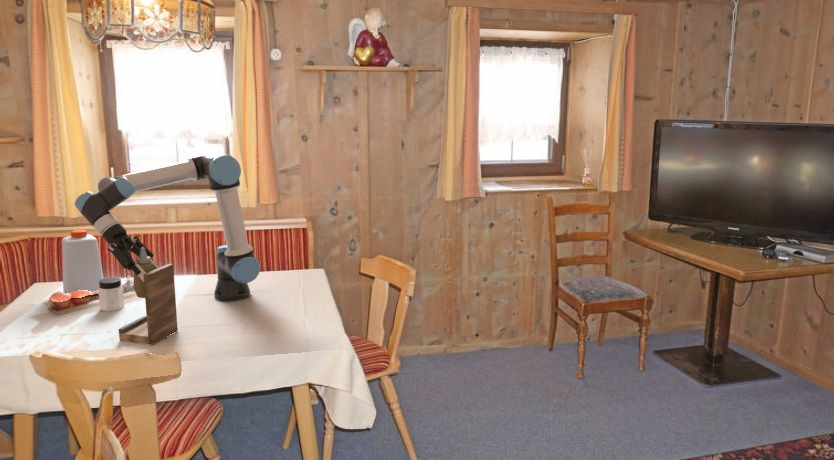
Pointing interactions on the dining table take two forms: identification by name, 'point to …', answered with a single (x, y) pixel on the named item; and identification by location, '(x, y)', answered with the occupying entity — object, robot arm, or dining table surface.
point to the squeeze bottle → (147, 266)
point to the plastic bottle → (81, 262)
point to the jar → (111, 294)
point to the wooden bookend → (155, 309)
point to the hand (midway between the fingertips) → (153, 277)
